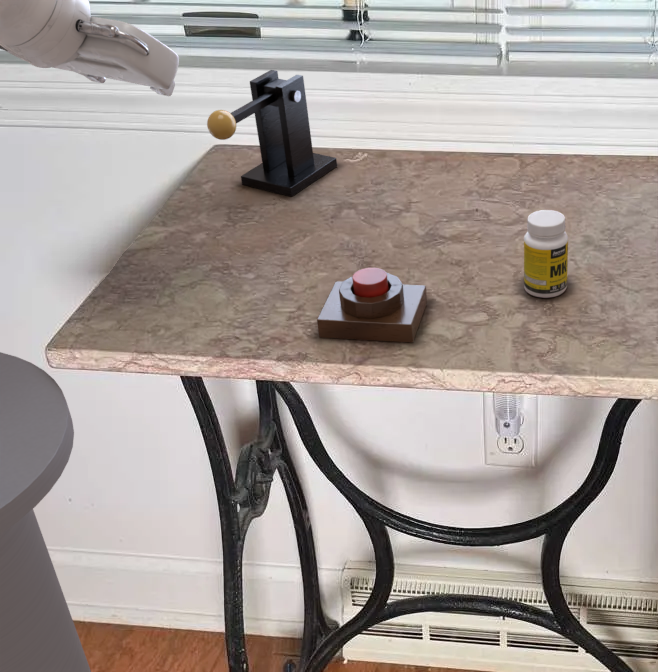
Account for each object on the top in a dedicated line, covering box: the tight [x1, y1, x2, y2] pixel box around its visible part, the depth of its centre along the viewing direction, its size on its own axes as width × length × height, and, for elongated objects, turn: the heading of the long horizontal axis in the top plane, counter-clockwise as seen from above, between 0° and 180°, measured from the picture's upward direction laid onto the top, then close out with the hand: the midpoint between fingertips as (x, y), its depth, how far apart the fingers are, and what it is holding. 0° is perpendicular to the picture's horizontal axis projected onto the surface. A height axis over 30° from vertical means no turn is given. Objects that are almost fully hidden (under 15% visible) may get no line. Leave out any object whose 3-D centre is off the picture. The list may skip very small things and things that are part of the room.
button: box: [351, 267, 388, 298], centre depth 123 cm, size 4×4×2 cm
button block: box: [316, 272, 428, 343], centre depth 125 cm, size 10×8×4 cm
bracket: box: [240, 69, 338, 198], centre depth 150 cm, size 10×8×13 cm
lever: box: [206, 77, 287, 141], centre depth 144 cm, size 14×3×3 cm, turn 150°
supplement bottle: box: [523, 209, 569, 299], centre depth 127 cm, size 5×5×8 cm
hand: (134, 82), depth 127 cm, fingers open, 8 cm apart
